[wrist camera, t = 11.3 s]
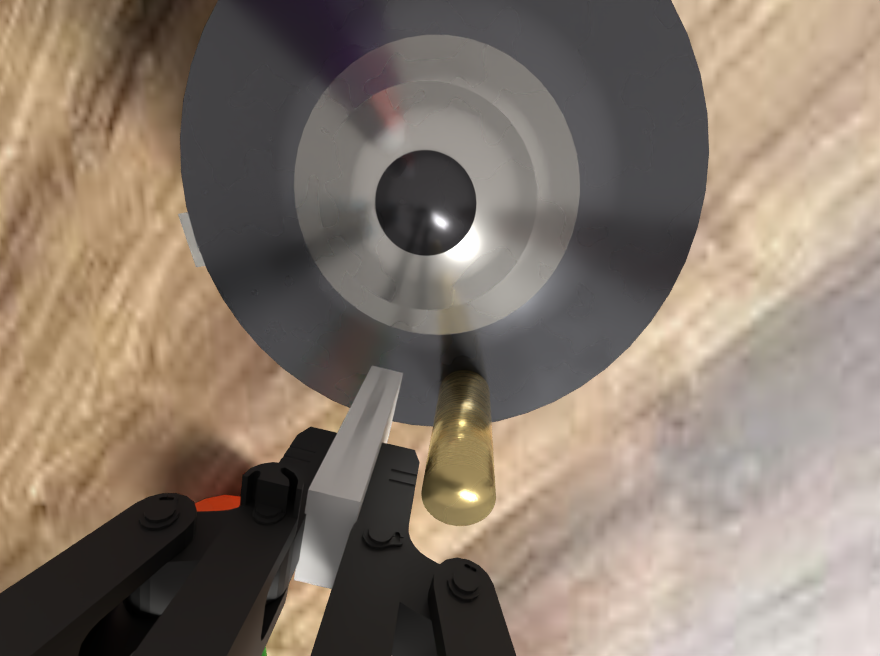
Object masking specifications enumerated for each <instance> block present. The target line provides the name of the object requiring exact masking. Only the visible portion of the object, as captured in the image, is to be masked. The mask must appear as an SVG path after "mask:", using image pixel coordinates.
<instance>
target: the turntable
mask: <svg viewBox="0 0 880 656" xmlns="http://www.w3.org/2000/svg"><path fill="white" fill-rule="evenodd" d="M422 35H452V36H458V37H464V38H469V39H472V40H475V41H478V42H481V43H485V44H488V45H490V46H492V47H494V48H496V49H498V50H500V51H502V52H504V53H506V54H508V55H509V56H511V57H512V58H513V59H515V60H516V61H518V62H519V63H520V64H522V65H523V66H525V67H526V68H527V69H528V70H529V71H530V72H531V73H532V74H533V75H534V76H535V77H536V78H537V79H538V80H539V81H540V82H541V83H542V84H543V85H544V87H545V88H546V89H547V91H548V92H549V93H550V94H551V96H552V97H553V98H554V100H555V102H556V103H557V105H558V107H559V109H560V110H561V112H562V114H563V115H564V118H565V120H566V122H567V125H568V127H569V130H570V132H571V134H572V138H573V142H574V145H575V149H576V153H577V158H578V166H579V174H580V197H579V205H578V213H577V218H576V222H575V226H574V230H573V233H572V236H571V239H570V241H569V244H568V246H567V249H566V251H565V253H564V255H563V257H562V259H561V261H560V262H559V264H558V266H557V268H556V269H555V271H554V272H553V274H552V275H551V276H550V278H549V279H548V280H547V282H546V283H545V284H544V285H543V286H542V288H541V289H540V290H539V291H538V292H537V293H536V294H535V295H534V296H533V297H532V298H531V299H530V300H528V301H527V302H526V303H525V304H524V305H522V306H521V307H520V308H519V309H517V310H515V311H514V312H512V313H511V314H509V315H508V316H506V317H504V318H502V319H500V320H498V321H496V322H494V323H492V324H490V325H487V326H484V327H481V328H478V329H475V330H472V331H467V332H462V333H457V334H444V335H432V334H419V333H414V332H408V331H404V330H401V329H397V328H394V327H391V326H388V325H386V324H384V323H382V322H379V321H377V320H375V319H373V318H371V317H370V316H368V315H366V314H365V313H363V312H361V311H360V310H358V309H357V308H356V307H354V306H353V305H352V304H351V303H349V302H348V301H347V300H345V299H344V298H343V297H342V296H341V295H340V294H339V293H338V292H337V291H336V290H335V289H334V288H333V287H332V285H331V284H330V283H329V281H328V280H327V279H326V278H325V276H324V275H323V274H322V272H321V271H320V269H319V268H318V266H317V264H316V263H315V261H314V259H313V258H312V256H311V254H310V251H309V249H308V247H307V245H306V243H305V240H304V237H303V234H302V231H301V228H300V225H299V221H298V216H297V211H296V206H295V193H294V175H295V163H296V157H297V152H298V146H299V143H300V140H301V137H302V133H303V130H304V127H305V125H306V123H307V121H308V119H309V116H310V114H311V112H312V110H313V108H314V107H315V105H316V104H317V102H318V100H319V99H320V97H321V96H322V94H323V93H324V91H325V90H326V89H327V88H328V87H329V85H330V84H331V83H332V82H333V81H334V79H335V78H336V77H337V76H338V75H339V74H341V73H342V72H343V71H344V70H345V69H346V68H347V67H348V66H349V65H351V64H352V63H353V62H355V61H356V60H358V59H359V58H361V57H362V56H364V55H365V54H367V53H368V52H370V51H372V50H374V49H377V48H379V47H381V46H383V45H385V44H387V43H391V42H394V41H397V40H400V39H404V38H408V37H415V36H422ZM180 149H181V174H182V181H183V188H184V194H185V201H186V207H187V211H188V212H186V213H181V214H178V215H179V218H180V221H181V224H182V227H183V230H184V233H185V236H186V239H187V242H188V245H189V248H190V251H191V254H192V257H193V260H194V262H195V265H196V267H201V266H206V268H207V270H208V272H209V274H210V276H211V278H212V280H213V282H214V283H215V285H216V287H217V289H218V291H219V293H220V295H221V296H222V298H223V300H224V301H225V303H226V304H227V306H228V307H229V309H230V310H231V311H232V313H233V314H234V316H235V317H236V319H237V320H238V322H239V323H240V325H241V326H242V327H243V328H244V329H245V330H246V331H247V333H248V334H249V335H250V336H251V337H252V338H253V340H254V341H255V342H256V343H257V344H258V345H259V346H260V348H261V349H263V350H264V351H265V352H266V353H267V354H268V355H269V356H270V357H271V358H272V359H273V360H274V361H276V362H277V363H278V364H279V365H280V366H281V367H282V368H283V369H285V370H286V371H287V372H289V373H290V374H291V375H293V376H294V377H296V378H297V379H298V380H300V381H301V382H302V383H304V384H305V385H306V386H308V387H310V388H312V389H313V390H315V391H317V392H319V393H320V394H322V395H324V396H326V397H327V398H329V399H331V400H333V401H335V402H337V403H340V404H342V405H344V406H347V407H349V408H350V407H351V405H352V404H353V402H354V400H355V398H356V396H357V394H358V392H359V390H360V388H361V386H362V384H363V382H364V380H365V378H366V376H367V374H368V372H369V370H370V368H371V367H372V366H376V367H380V368H385V369H389V370H393V371H397V372H401V373H403V376H402V380H401V384H400V389H399V393H398V398H397V402H396V407H395V411H394V416H393V420H392V421H394V422H400V423H405V424H411V425H421V426H433V430H432V435H431V441H430V447H429V452H428V458H427V464H426V469H425V475H424V481H423V486H422V500H423V504H424V506H425V508H426V509H427V511H428V512H429V513H430V514H431V515H432V516H433V517H435V518H436V519H438V520H439V521H441V522H443V523H446V524H449V525H454V526H466V525H471V524H475V523H477V522H479V521H481V520H483V519H484V518H486V517H487V516H488V515H489V514H490V512H491V511H492V509H493V507H494V505H495V501H496V492H495V475H494V458H493V442H492V425H491V422H496V421H500V420H504V419H507V418H511V417H515V416H518V415H522V414H525V413H528V412H530V411H533V410H535V409H538V408H540V407H543V406H545V405H547V404H550V403H552V402H554V401H556V400H558V399H560V398H562V397H563V396H565V395H567V394H569V393H571V392H572V391H574V390H576V389H578V388H580V387H581V386H583V385H584V384H585V383H587V382H588V381H589V380H591V379H592V378H594V377H595V376H596V375H598V374H599V373H600V372H602V371H603V370H605V369H606V368H607V367H608V366H609V365H610V364H611V363H612V362H614V361H615V360H616V359H617V358H618V357H619V356H620V355H621V354H622V353H623V352H624V351H625V350H627V349H628V348H629V347H630V346H631V344H632V343H633V342H634V341H635V340H636V338H637V337H638V336H639V335H640V334H641V333H642V331H643V330H644V329H645V328H646V327H647V326H648V324H649V323H650V322H651V321H652V319H653V318H654V316H655V315H656V313H657V312H658V310H659V309H660V307H661V306H662V304H663V303H664V301H665V300H666V298H667V297H668V295H669V294H670V292H671V290H672V288H673V286H674V284H675V282H676V280H677V278H678V276H679V274H680V272H681V270H682V268H683V266H684V264H685V262H686V259H687V256H688V253H689V250H690V247H691V245H692V242H693V239H694V236H695V233H696V231H697V228H698V223H699V219H700V214H701V210H702V205H703V201H704V196H705V191H706V181H707V169H708V158H709V141H708V117H707V108H706V103H705V97H704V92H703V86H702V80H701V75H700V71H699V68H698V65H697V62H696V59H695V56H694V52H693V49H692V46H691V43H690V40H689V37H688V34H687V32H686V30H685V28H684V26H683V24H682V22H681V20H680V18H679V16H678V14H677V12H676V10H675V8H674V5H673V3H672V1H671V0H218V2H217V4H216V6H215V8H214V10H213V12H212V13H211V15H210V17H209V19H208V21H207V23H206V25H205V27H204V30H203V32H202V35H201V38H200V41H199V44H198V46H197V49H196V52H195V55H194V58H193V61H192V63H191V68H190V72H189V77H188V81H187V86H186V91H185V95H184V100H183V110H182V121H181V133H180Z"/></svg>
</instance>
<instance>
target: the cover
mask: <svg viewBox="0 0 880 656" xmlns="http://www.w3.org/2000/svg"><path fill="white" fill-rule="evenodd" d="M294 193H295V206H296V211H297V216H298V221H299V225H300V228H301V231H302V234H303V237H304V240H305V243H306V245H307V247H308V249H309V251H310V254H311V256H312V258H313V259H314V261H315V263H316V264H317V266H318V268H319V269H320V271H321V272H322V274H323V275H324V276H325V278H326V279H327V280H328V281H329V283H330V284H331V285H332V287H333V288H334V289H335V290H336V291H337V292H338V293H339V294H340V295H341V296H342V297H343V298H344V299H345V300H347V301H348V302H349V303H351V304H352V305H353V306H354V307H356V308H357V309H358V310H360V311H361V312H363V313H365V314H366V315H368V316H370V317H371V318H373V319H375V320H377V321H379V322H382V323H384V324H386V325H388V326H391V327H394V328H397V329H401V330H404V331H408V332H414V333H419V334H432V335H444V334H457V333H462V332H467V331H472V330H475V329H478V328H481V327H484V326H487V325H490V324H492V323H494V322H496V321H498V320H500V319H502V318H504V317H506V316H508V315H509V314H511V313H512V312H514V311H515V310H517V309H519V308H520V307H521V306H522V305H524V304H525V303H526V302H527V301H528V300H530V299H531V298H532V297H533V296H534V295H535V294H536V293H537V292H538V291H539V290H540V289H541V288H542V286H543V285H544V284H545V283H546V282H547V280H548V279H549V278H550V276H551V275H552V274H553V272H554V271H555V269H556V268H557V266H558V264H559V262H560V261H561V259H562V257H563V255H564V253H565V251H566V249H567V246H568V244H569V241H570V239H571V236H572V233H573V230H574V226H575V222H576V218H577V213H578V205H579V197H580V174H579V166H578V158H577V153H576V149H575V145H574V142H573V138H572V134H571V132H570V130H569V127H568V125H567V122H566V120H565V118H564V115H563V114H562V112H561V110H560V109H559V107H558V105H557V103H556V102H555V100H554V98H553V97H552V96H551V94H550V93H549V92H548V91H547V89H546V88H545V87H544V85H543V84H542V83H541V82H540V81H539V80H538V79H537V78H536V77H535V76H534V75H533V74H532V73H531V72H530V71H529V70H528V69H527V68H526V67H525V66H523V65H522V64H520V63H519V62H518V61H516V60H515V59H513V58H512V57H511V56H509V55H508V54H506V53H504V52H502V51H500V50H498V49H496V48H494V47H492V46H490V45H488V44H485V43H481V42H478V41H475V40H472V39H469V38H464V37H458V36H452V35H422V36H415V37H408V38H404V39H400V40H397V41H394V42H391V43H387V44H385V45H383V46H381V47H379V48H377V49H374V50H372V51H370V52H368V53H367V54H365V55H364V56H362V57H361V58H359V59H358V60H356V61H355V62H353V63H352V64H351V65H349V66H348V67H347V68H346V69H345V70H344V71H343V72H342V73H341V74H339V75H338V76H337V77H336V78H335V79H334V81H333V82H332V83H331V84H330V85H329V87H328V88H327V89H326V90H325V91H324V93H323V94H322V96H321V97H320V99H319V100H318V102H317V104H316V105H315V107H314V108H313V110H312V112H311V114H310V116H309V119H308V121H307V123H306V125H305V127H304V130H303V133H302V137H301V140H300V143H299V146H298V152H297V157H296V163H295V175H294Z"/></svg>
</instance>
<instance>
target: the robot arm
mask: <svg viewBox="0 0 880 656" xmlns="http://www.w3.org/2000/svg"><path fill="white" fill-rule="evenodd" d="M402 376H403V373H401V372H397V371H393V370H389V369H385V368H380V367H376V366H372V367H371V368H370V370H369V372H368V374H367V376H366V378H365V380H364V382H363V384H362V386H361V388H360V390H359V392H358V394H357V396H356V398H355V400H354V402H353V404H352V405H351V407H350V409H349V411H348V413H347V415H346V417H345V419H344V421H343V423H342V425H341V427H340V429H339V431H338V433H336V432H331V431H327V430H323V429H319V428H314V427H309V428H308V429H306V430H305V431H303V432H301V433H300V434H298V435H297V436H296V438H295V439H294V441H293V442H292V444H291V445H290V448H288V450H287V451H286V453H285V454H284V457H283V458H282V459H281V460H280V462H279V463H276V462H271V463H264V464H260V465H257V466H255V467H253V468H250V469H249V470H248V471H247V472H246V473H245V474H243V477H242V488H241V498H240V505H239V507H237V508H233V509H230V510H222V511H197V509H196V506H195V503H194V502H193V501H192V500H191V499H190V498H188V497H187V496H184V495H180V494H177V493H162V494H158V495H154V496H150V497H147V498H145V499H143V500H141V501H139V502H137V503H135V504H134V505H132V506H131V507H129V508H128V509H126V510H125V511H123V512H122V513H120V514H119V515H117V516H116V517H114V518H113V519H111V520H110V521H108V522H107V523H105V524H104V525H102V526H101V527H99V528H98V529H96V530H95V531H93V532H92V533H90V534H89V535H87V536H86V537H84V538H83V539H81V540H80V541H78V542H77V543H75V544H74V545H72V546H71V547H69V548H68V549H66V550H65V551H63V552H62V553H60V554H59V555H57V556H56V557H54V558H53V559H51V560H50V561H48V562H47V563H45V564H44V565H42V566H41V567H39V568H38V569H36V570H35V571H33V572H32V573H30V574H29V575H27V576H26V577H24V578H23V579H21V580H20V581H18V582H17V583H15V584H14V585H12V586H11V587H9V588H8V589H6V590H5V591H3V592H2V593H0V656H261V655H262V653H263V651H264V649H265V646H266V644H267V642H268V640H269V637H270V635H271V633H272V631H273V629H274V626H275V624H276V622H277V620H278V617H279V615H280V613H281V611H282V608H283V606H284V604H285V601H286V596H287V591H288V585H289V582H290V580H291V578H292V575H293V573H294V571H295V569H296V571H295V578H294V580H297V581H301V582H305V583H310V584H312V585H317V586H321V587H326V588H330V589H332V590H331V593H330V596H329V600H328V603H327V606H326V609H325V612H324V615H323V618H322V622H321V625H320V628H319V631H318V634H317V637H316V640H315V644H314V647H313V650H312V653H311V656H391V655H392V656H516V653H515V650H514V647H513V644H512V641H511V638H510V635H509V632H508V628H507V625H506V622H505V619H504V616H503V613H502V610H501V607H500V604H499V600H498V597H497V594H496V591H495V588H494V585H493V583H492V581H491V579H490V577H489V575H488V574H487V573H486V572H485V571H484V570H483V569H482V568H481V567H480V566H479V565H477V564H475V563H474V562H472V561H470V560H467V559H461V558H453V559H447V560H445V561H444V562H442V563H441V564H438V563H436V562H434V561H433V560H431V559H429V558H427V557H426V556H425V555H423V554H422V553H420V552H419V551H418V549H417V548H416V547H415V546H414V545H413V543H412V541H411V539H410V536H409V520H410V514H411V509H412V503H413V497H414V491H415V485H416V479H417V474H418V468H419V460H418V458H417V455H416V452H415V450H412V449H408V448H404V447H399V446H395V445H391V444H387V441H388V438H389V434H390V429H391V425H392V420H393V416H394V411H395V407H396V402H397V398H398V393H399V389H400V384H401V380H402Z"/></svg>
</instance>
